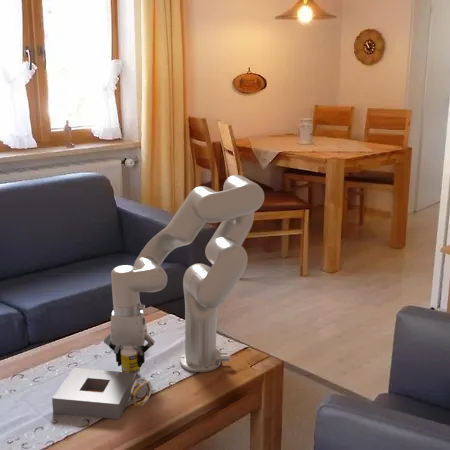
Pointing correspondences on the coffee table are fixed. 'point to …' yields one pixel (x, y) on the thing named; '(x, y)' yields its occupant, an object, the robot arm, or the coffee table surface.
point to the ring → (133, 393)
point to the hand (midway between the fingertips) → (130, 363)
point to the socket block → (94, 393)
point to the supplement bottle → (129, 359)
